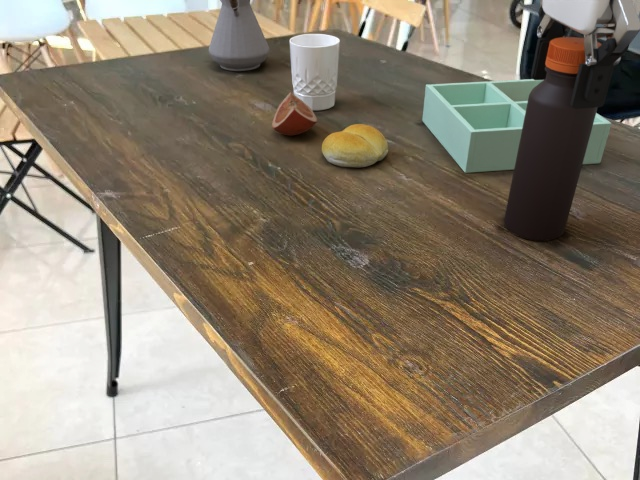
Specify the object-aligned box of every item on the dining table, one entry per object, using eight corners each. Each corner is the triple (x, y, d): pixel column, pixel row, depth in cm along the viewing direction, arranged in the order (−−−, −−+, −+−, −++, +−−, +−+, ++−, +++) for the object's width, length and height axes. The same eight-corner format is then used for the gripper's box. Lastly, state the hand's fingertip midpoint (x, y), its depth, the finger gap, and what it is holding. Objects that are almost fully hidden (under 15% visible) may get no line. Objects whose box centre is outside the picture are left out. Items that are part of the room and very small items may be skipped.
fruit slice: (271, 123, 100) (270, 90, 97) (315, 122, 100) (315, 89, 97) (273, 144, 93) (271, 110, 90) (319, 143, 94) (319, 108, 91)
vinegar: (504, 210, 77) (540, 32, 65) (563, 217, 76) (611, 37, 64) (501, 237, 72) (539, 49, 60) (565, 246, 71) (616, 55, 59)
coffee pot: (211, 57, 128) (203, -28, 119) (269, 56, 129) (266, -29, 120) (204, 92, 111) (195, -4, 102) (271, 90, 112) (267, -5, 103)
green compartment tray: (538, 114, 104) (546, 78, 100) (600, 163, 88) (611, 123, 85) (422, 121, 101) (425, 84, 98) (465, 173, 86) (471, 132, 82)
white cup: (322, 115, 103) (323, 49, 97) (281, 106, 106) (279, 42, 100) (347, 101, 108) (349, 38, 102) (307, 93, 111) (306, 31, 105)
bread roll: (310, 157, 90) (310, 129, 87) (354, 140, 95) (355, 113, 92) (354, 176, 85) (355, 146, 82) (398, 156, 90) (400, 128, 87)
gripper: (721, -111, 48) (648, 121, 59) (601, -125, 62) (559, 65, 72) (628, -110, 47) (571, 125, 57) (527, -125, 61) (496, 68, 71)
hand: (565, 91), depth 65 cm, fingers open, 8 cm apart
